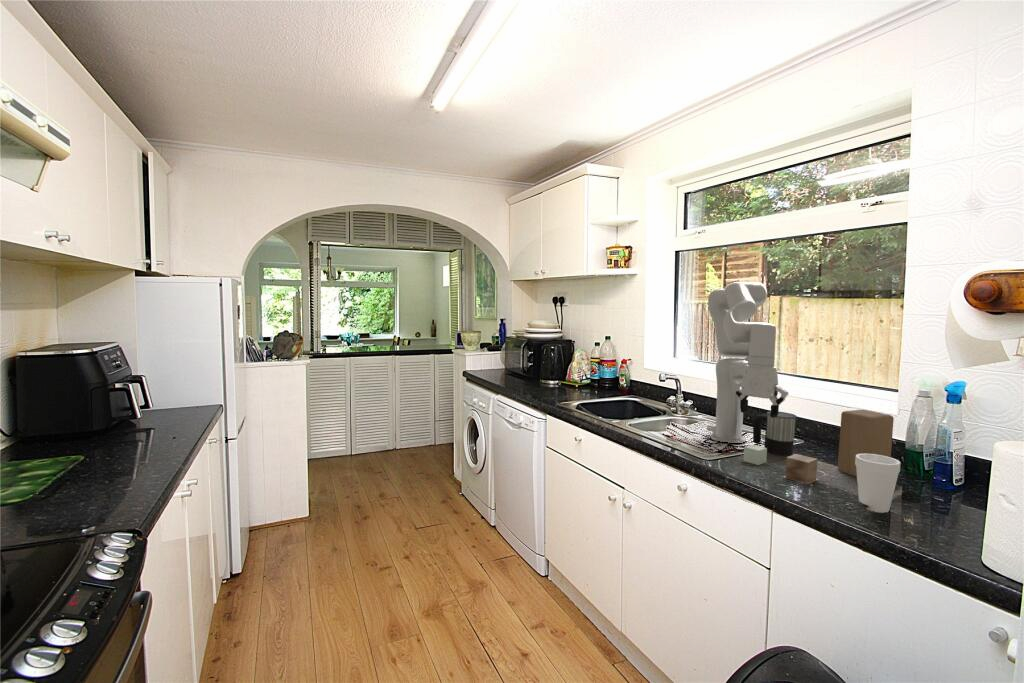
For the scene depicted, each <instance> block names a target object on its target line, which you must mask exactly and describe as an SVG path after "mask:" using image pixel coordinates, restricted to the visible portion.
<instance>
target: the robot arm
mask: <svg viewBox="0 0 1024 683" xmlns="http://www.w3.org/2000/svg"><path fill="white" fill-rule="evenodd" d="M707 298H708V299H707V309H708V312H709V315H710V318H711V319H712V322H713V324H714V330H715V338H716V346H717V351H718V353H719V355H720V356H721V357H724V358H721V359H720V360H718V361H717V363H716V364H715V375H716V376H715V377H716V389H717V390H716V408H715V409H716V410H715V425H712V424H708V425H707V427H706V431H709V432H712V433H711V434H710V439H711V440H713V441H715V442H718V441H720V442H719V443H722V442H728V443H727V444H729V443H742V444H744V443H743V442H745V441H746V442H747V438H746V437H745V436H743V422H744V421H743V420H744V413H745V412H748V410H749V409H748V408H749V400H748V398H749V397H752V398H758V399H759V398H760V399H769V400H770V401H769V402H771V403H772V404H771V405H770V411H771V413H770V417H771V418H774V417H777V415H778V413H779V412H780V411H779V410H780V409H779V407H780V405H781V404H782V403H783V402H785V400H786V398H787V397H788V396H789V391H786V390H785V389H784V388H782V387H780V386H779V378H778V371H777V370H778V369H777V367H776V366H775V359H776V357H775V356H776V354H775V353H776V341H777V340H776V337H777V327H776V325H775V324H774V323H773V324H772V323H768V322H763V321H759V322H758V321H747V320H750V319H751V318H753V317H754V316H755V315H756V313H757V310H758V308H759V307H761V306H763V305H764V304H765V303H766V301H767V298H768V291H767V288H766V286H765V285H764V284H763V283H761V282H758V281H757V282H756V281H736V282H731V283H729V284H728V285H726V286H725V288H718V289H715V290H713V291H711V292H710V293H709V294H708V297H707ZM779 393H780V397H778V394H779ZM746 442H745V443H746Z"/></svg>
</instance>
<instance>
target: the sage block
mask: <svg viewBox="0 0 1024 683" xmlns="http://www.w3.org/2000/svg"><path fill="white" fill-rule="evenodd" d="M748 445H749V446H747V445H746V446H744V447H743V462H745V463H749V464H754V465H757V466H760V465H762V464H766V463H767V456H768V452H767V448H764V446H760V445H755V444H748Z"/></svg>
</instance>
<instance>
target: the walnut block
mask: <svg viewBox="0 0 1024 683" xmlns="http://www.w3.org/2000/svg"><path fill="white" fill-rule="evenodd" d="M785 465H786V466H785V476H786V477H787V478H786V479H788V478H791V479H794V480H793V481H795V480H798V481H797V482H799V481H802V482H805V483H804V484H806V483H808V482H810V481H812V480H815V479H816V478H817V469H818V458H815V457H810V456H805V455H803V454H799V453H798V454H797V453H795V454H793V455H792V456H786V463H785ZM791 479H790V480H791ZM802 482H801V483H802Z"/></svg>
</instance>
